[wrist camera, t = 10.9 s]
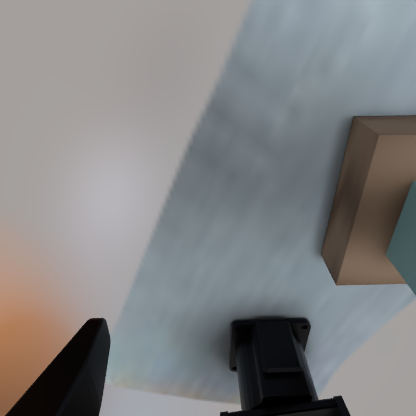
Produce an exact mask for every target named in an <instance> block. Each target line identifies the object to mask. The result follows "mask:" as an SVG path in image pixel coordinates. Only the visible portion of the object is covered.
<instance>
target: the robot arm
mask: <svg viewBox="0 0 416 416" xmlns="http://www.w3.org/2000/svg"><path fill="white" fill-rule="evenodd" d="M310 327H311V326H310V323H309V321H308V320H306V319H297V320H261V321H235V322H233V323H232V324H231V339H230V358H229V368H230V370H231V371H234V372H238V381H239V390H240V399H241V408H242V411H238V412H230V413H228V412H227V411H226V412H221V413H220V416H350V414H349V411H348V409H347V407H346V405H345V403H344V400H343V398H342V396H334V397H333V398H331V399H323V400H318V397H317V393H316V390H315V387H314V384H313V380H312V377H311V374H310V371H309V367H308V364H307V361H306V357H305V354H304V351H305V347H306V343H307V339H308V335H309V331H310ZM109 350H110V334H109V330H108V326H107V322H106V320H105V319H104V318H92V319H89V320H88V321H87V322H86V323H85V324H84V325H83V326H82V327H81V329H80V330H79V331H78V332H77V333H76V334H75V335H74V337H73V338H72V339H71V340H70V341H69V342H68V344H67V345H66V346H65V347H64V348H63V350H62V351H61V352H60V353H59V354H58V355H57V356H56V358H55V359H54V360H53V361H52V362H51V363H50V364H49V366H48V367H47V368H46V369H45V370H44V371H43V373H42V374H41V375H40V376H39V377H38V378H37V379H36V381H35V382H34V383H33V384H32V385H31V386H30V388H29V389H28V390H27V391H26V392H25V393H24V395H23V396H22V397H21V398H20V399H19V400H18V401H17V403H16V404H15V405H14V406H13V407H12V408H11V410H10V411H9V412H8V413H7V414H6V415H5V416H99V412H100V407H101V402H102V396H103V390H104V383H105V377H106V370H107V363H108V357H109Z"/></svg>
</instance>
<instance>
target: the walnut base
mask: <svg viewBox="0 0 416 416" xmlns="http://www.w3.org/2000/svg"><path fill="white" fill-rule="evenodd" d="M413 181H416V116H354V117H353V122H352V126H351V130H350V134H349V139H348V143H347V147H346V151H345V156H344V160H343V164H342V168H341V173H340V177H339V181H338V185H337V190H336V194H335V198H334V202H333V207H332V211H331V215H330V219H329V224H328V228H327V232H326V236H325V241H324V245H323V249H322V253H321V255H322V257H323V259H324V262H325V264H326V266H327V268H328V270H329V272H330V274H331V276H332V278H333V280H334V282H335V284H336V285H371V284H407V283H406V282H405V280H404V279H403V278H402V276H401V275H400V273H399V272H398V271H397V269H396V268H395V267H394V265H393V264H392V263H391V261H390V260H389V259H388V257H387V256H386V252H387V249H388V247H389V244H390V241H391V239H392V236H393V233H394V231H395V228H396V225H397V222H398V220H399V217H400V214H401V212H402V209H403V206H404V204H405V201H406V198H407V196H408V193H409V190H410V187H411V185H412V182H413Z"/></svg>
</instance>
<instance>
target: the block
mask: <svg viewBox="0 0 416 416" xmlns="http://www.w3.org/2000/svg"><path fill="white" fill-rule="evenodd" d="M386 256H387V257H388V259H389V260H390V261H391V263H392V264H393V265H394V267H395V268H396V269H397V271H398V272H399V273H400V275H401V276H402V278H403V279H404V280H405V282H406V283H407V284H408V286H409V287H410V288H411V290H412V291H413V292H414V294H415V295H416V181H413V182H412V185H411V187H410V190H409V193H408V196H407V198H406V201H405V204H404V206H403V209H402V212H401V214H400V217H399V220H398V222H397V225H396V228H395V231H394V233H393V236H392V239H391V241H390V244H389V247H388V249H387V252H386Z"/></svg>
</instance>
